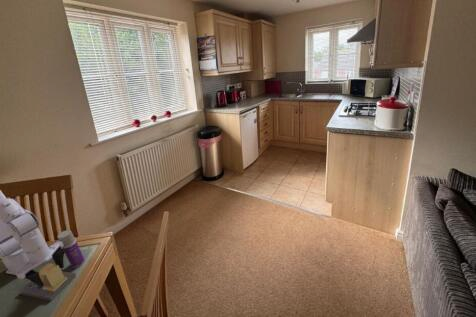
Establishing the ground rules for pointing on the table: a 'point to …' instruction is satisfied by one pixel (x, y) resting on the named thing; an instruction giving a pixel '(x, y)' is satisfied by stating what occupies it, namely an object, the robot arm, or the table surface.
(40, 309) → the table surface
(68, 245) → the container
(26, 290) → the rail plate
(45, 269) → the tan rectangular block
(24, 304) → the table surface
